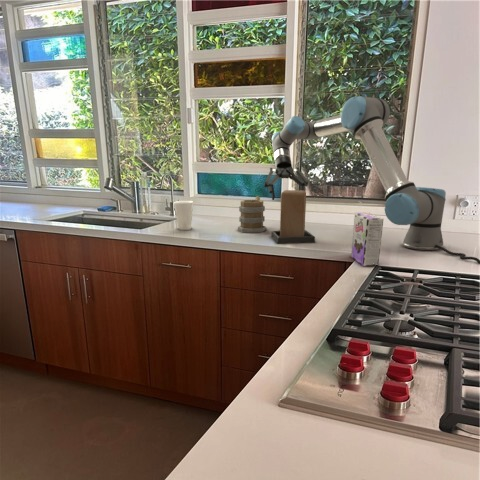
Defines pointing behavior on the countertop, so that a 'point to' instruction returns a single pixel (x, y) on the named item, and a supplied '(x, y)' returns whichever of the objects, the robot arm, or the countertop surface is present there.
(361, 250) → the candy box
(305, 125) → the robot arm
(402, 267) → the countertop surface
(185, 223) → the foam cup
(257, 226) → the tankard
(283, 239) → the dark grey square tray
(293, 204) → the block
